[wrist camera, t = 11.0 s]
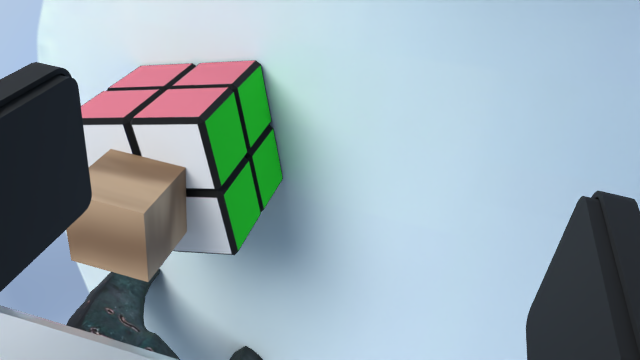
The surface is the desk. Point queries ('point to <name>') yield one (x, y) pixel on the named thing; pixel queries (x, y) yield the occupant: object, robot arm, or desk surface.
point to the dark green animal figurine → (127, 316)
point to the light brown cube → (130, 215)
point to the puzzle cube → (196, 141)
